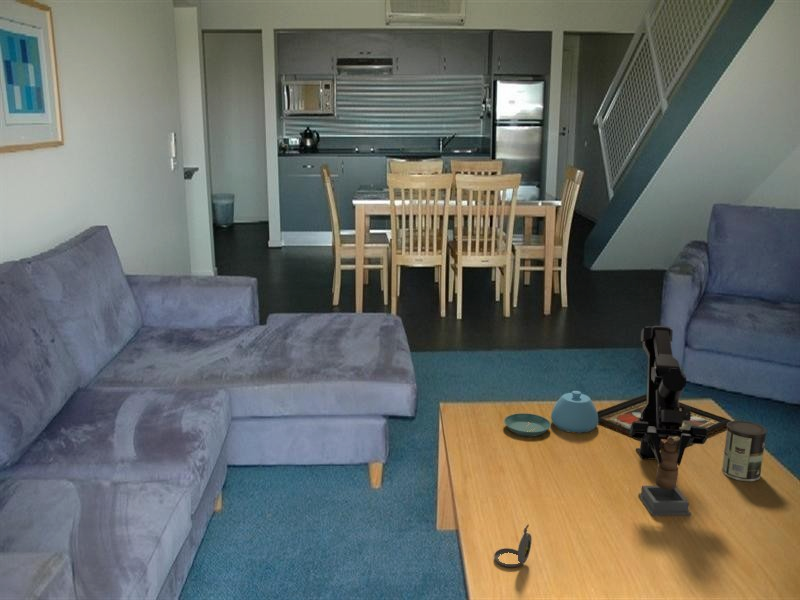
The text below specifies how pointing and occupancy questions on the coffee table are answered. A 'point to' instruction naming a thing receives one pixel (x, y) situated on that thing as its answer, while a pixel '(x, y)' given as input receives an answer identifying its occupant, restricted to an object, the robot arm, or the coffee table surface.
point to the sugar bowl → (575, 413)
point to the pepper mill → (668, 466)
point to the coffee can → (744, 450)
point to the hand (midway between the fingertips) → (669, 464)
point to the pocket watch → (522, 551)
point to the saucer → (521, 420)
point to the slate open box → (664, 501)
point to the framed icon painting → (631, 410)
